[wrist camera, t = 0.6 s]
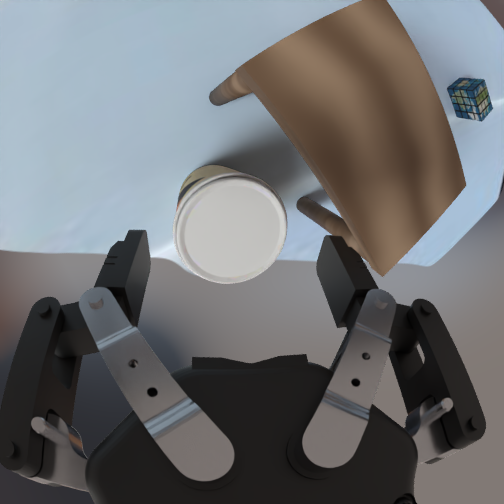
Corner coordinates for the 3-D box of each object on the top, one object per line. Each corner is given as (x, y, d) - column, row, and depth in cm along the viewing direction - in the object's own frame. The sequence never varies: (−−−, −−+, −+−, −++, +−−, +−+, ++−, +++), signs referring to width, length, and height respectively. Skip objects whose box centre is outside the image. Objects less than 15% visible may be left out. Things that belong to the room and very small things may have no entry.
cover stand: (301, 214, 37) (382, 276, 22) (205, 96, 27) (241, 65, 13) (369, 155, 36) (466, 185, 21) (292, 37, 26) (381, -7, 12)
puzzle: (469, 105, 36) (493, 109, 31) (456, 117, 37) (482, 122, 32) (459, 77, 33) (484, 79, 28) (446, 88, 34) (472, 90, 29)
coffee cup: (173, 156, 29) (173, 173, 19) (255, 159, 32) (298, 178, 21) (171, 235, 33) (174, 289, 23) (247, 234, 36) (282, 284, 25)
